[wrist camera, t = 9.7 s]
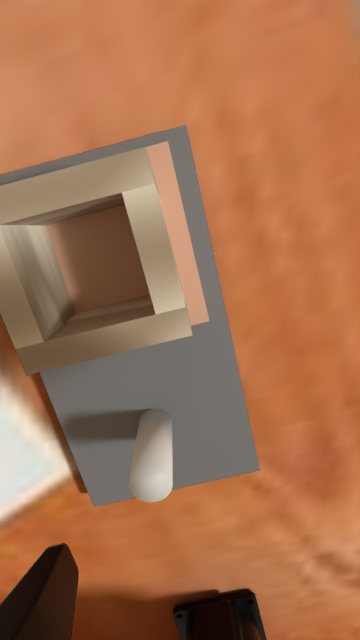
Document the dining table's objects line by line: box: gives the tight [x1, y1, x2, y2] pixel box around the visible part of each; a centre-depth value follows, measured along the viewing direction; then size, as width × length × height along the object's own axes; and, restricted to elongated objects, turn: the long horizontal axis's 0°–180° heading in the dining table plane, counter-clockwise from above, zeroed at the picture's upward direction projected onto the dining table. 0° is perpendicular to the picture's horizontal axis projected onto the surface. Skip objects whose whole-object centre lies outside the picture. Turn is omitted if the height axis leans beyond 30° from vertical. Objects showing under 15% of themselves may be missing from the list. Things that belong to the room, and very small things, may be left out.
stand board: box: [0, 125, 260, 507], centre depth 16 cm, size 20×11×6 cm, turn 14°
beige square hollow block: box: [0, 147, 192, 376], centre depth 14 cm, size 7×7×4 cm
